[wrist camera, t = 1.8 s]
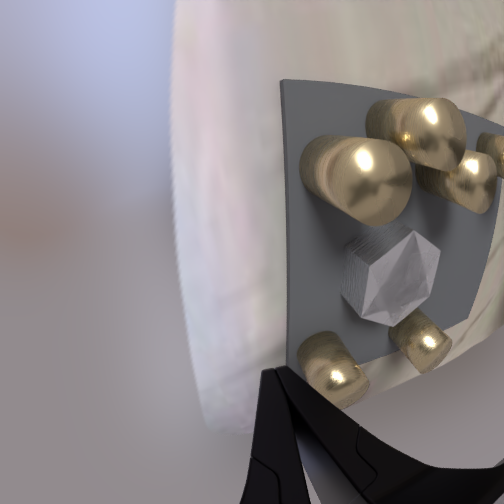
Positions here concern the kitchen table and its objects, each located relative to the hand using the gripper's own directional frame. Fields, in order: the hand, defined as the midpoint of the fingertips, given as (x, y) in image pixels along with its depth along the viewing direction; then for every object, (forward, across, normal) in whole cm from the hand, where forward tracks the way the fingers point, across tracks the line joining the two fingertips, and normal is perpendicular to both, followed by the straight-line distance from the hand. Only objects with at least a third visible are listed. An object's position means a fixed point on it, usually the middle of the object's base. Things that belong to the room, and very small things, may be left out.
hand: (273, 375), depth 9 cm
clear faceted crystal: (+6, -8, 0) cm, 10 cm away
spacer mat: (+6, -12, 0) cm, 13 cm away
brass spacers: (+6, -11, -1) cm, 13 cm away
